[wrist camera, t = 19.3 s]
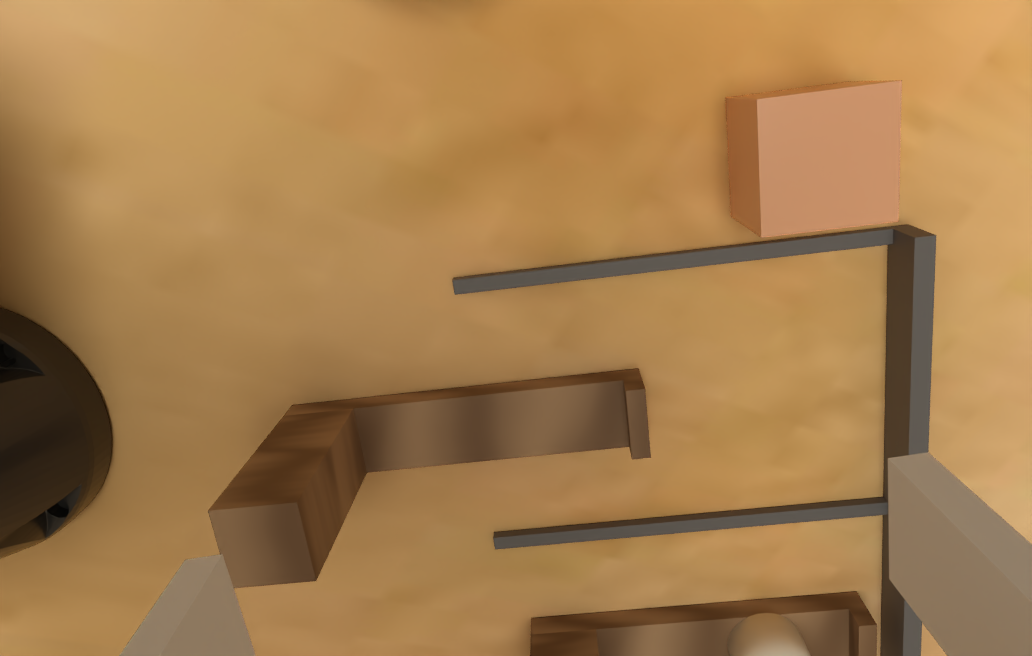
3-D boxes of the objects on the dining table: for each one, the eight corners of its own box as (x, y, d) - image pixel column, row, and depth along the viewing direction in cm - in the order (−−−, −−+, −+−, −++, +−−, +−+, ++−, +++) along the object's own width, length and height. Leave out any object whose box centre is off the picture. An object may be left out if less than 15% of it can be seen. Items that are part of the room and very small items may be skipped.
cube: (725, 97, 38) (757, 99, 32) (847, 81, 38) (901, 80, 32) (730, 215, 40) (761, 237, 34) (847, 201, 39) (898, 221, 34)
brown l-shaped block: (306, 466, 45) (230, 588, 34) (292, 405, 44) (207, 511, 33) (644, 433, 44) (676, 549, 33) (638, 368, 42) (670, 466, 31)
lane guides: (524, 725, 50) (523, 763, 48) (453, 277, 41) (446, 292, 38) (895, 698, 49) (917, 737, 46) (907, 224, 39) (936, 235, 37)
